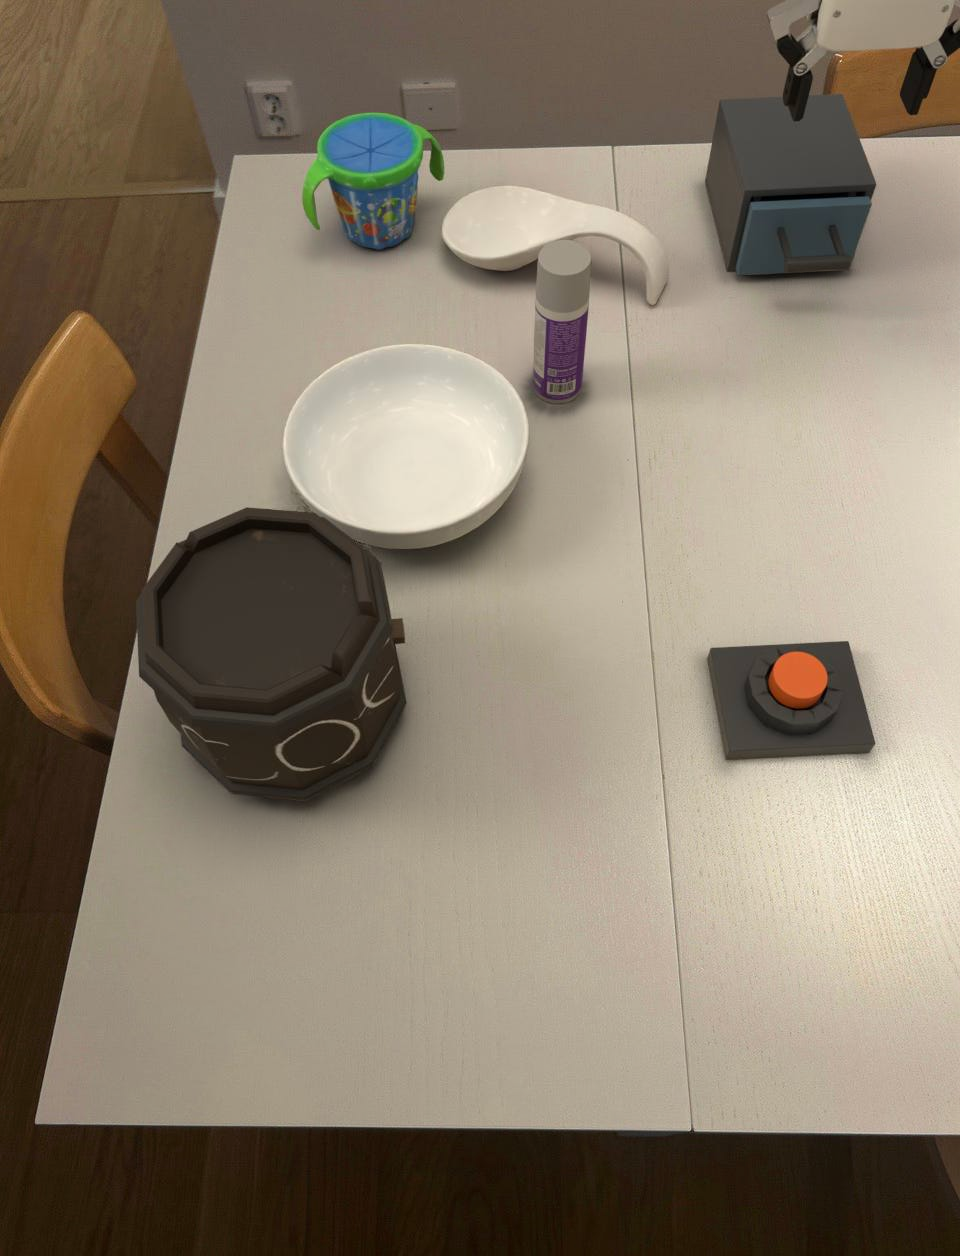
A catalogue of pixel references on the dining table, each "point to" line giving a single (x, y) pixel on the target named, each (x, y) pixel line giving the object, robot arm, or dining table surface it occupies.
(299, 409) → the serving bowl
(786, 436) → the dining table surface
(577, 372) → the container
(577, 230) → the spoon rest
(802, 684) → the button
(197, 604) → the dark grey faceted cylinder
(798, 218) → the blue cabinet drawer
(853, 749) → the dark grey button base
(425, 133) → the snack cup
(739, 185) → the grey cabinet body
